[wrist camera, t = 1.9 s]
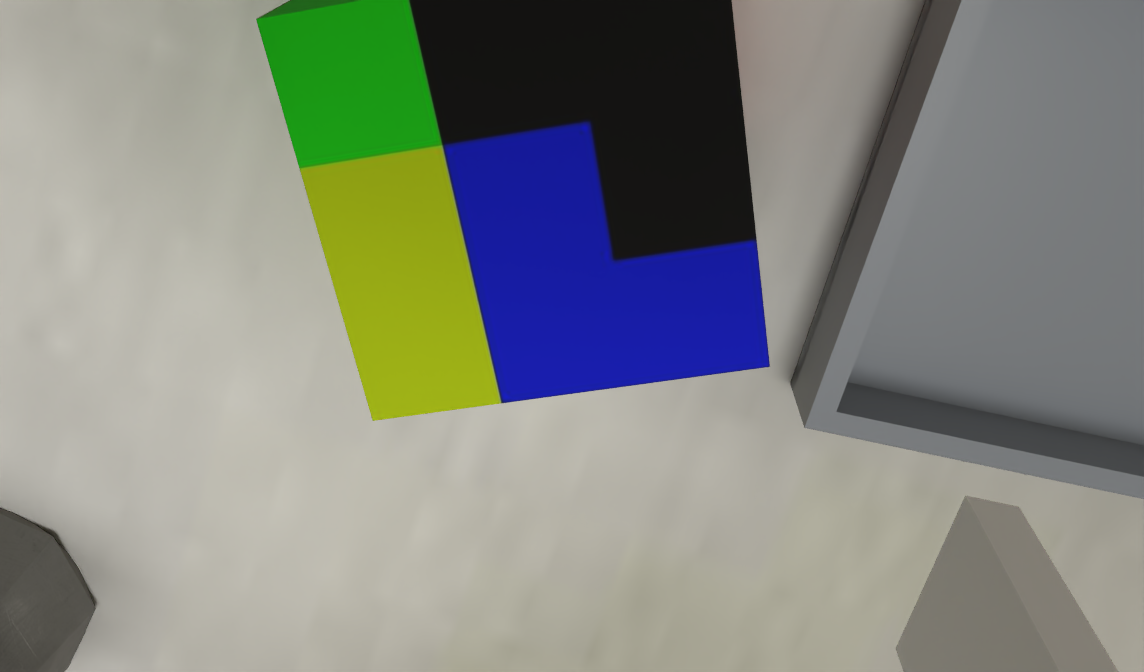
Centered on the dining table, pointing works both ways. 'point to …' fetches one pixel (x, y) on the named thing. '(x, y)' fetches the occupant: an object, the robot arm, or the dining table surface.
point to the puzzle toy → (525, 192)
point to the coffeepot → (38, 599)
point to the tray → (998, 250)
